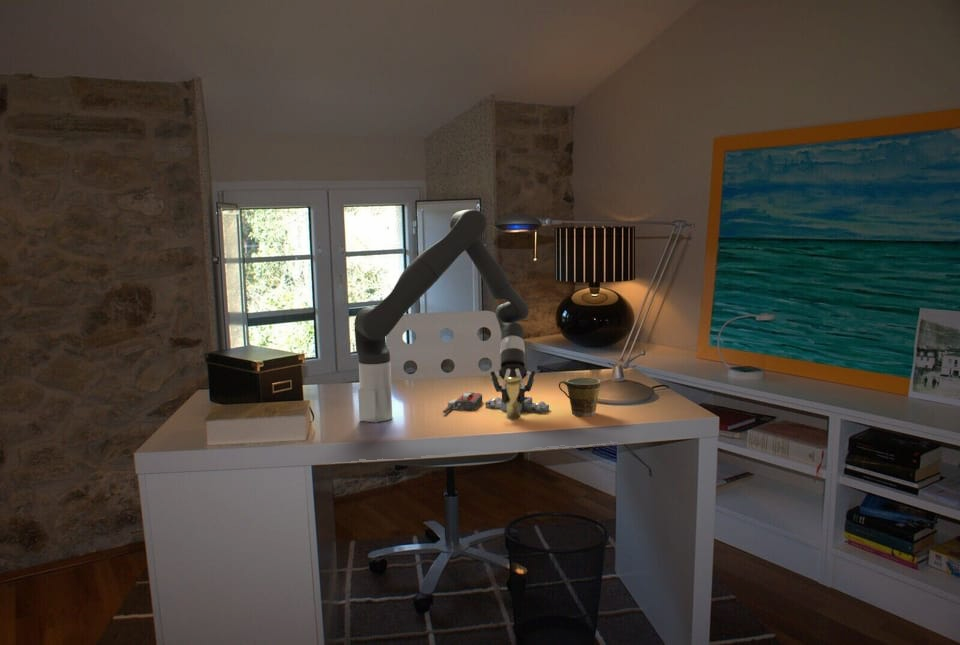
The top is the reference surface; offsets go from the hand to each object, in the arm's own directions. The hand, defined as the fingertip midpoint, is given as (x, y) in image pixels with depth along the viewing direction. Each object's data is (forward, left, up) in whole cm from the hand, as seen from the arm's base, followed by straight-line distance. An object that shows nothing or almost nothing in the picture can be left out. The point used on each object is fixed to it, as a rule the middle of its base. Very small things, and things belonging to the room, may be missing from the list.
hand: (513, 402), depth 213 cm
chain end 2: (+12, +1, -5) cm, 13 cm away
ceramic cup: (+14, -15, -5) cm, 21 cm away
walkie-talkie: (+6, +20, -6) cm, 22 cm away
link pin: (+2, +1, -5) cm, 5 cm away
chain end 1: (+12, +11, -5) cm, 17 cm away
